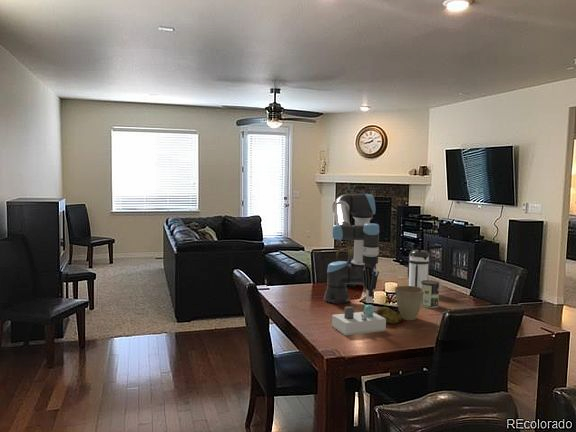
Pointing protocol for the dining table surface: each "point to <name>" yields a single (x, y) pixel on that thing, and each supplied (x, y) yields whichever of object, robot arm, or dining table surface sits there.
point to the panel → (358, 324)
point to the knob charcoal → (349, 313)
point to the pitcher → (350, 255)
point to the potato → (389, 315)
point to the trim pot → (364, 316)
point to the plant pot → (409, 301)
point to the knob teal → (369, 310)
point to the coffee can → (430, 293)
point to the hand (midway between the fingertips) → (369, 302)
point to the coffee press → (418, 267)
